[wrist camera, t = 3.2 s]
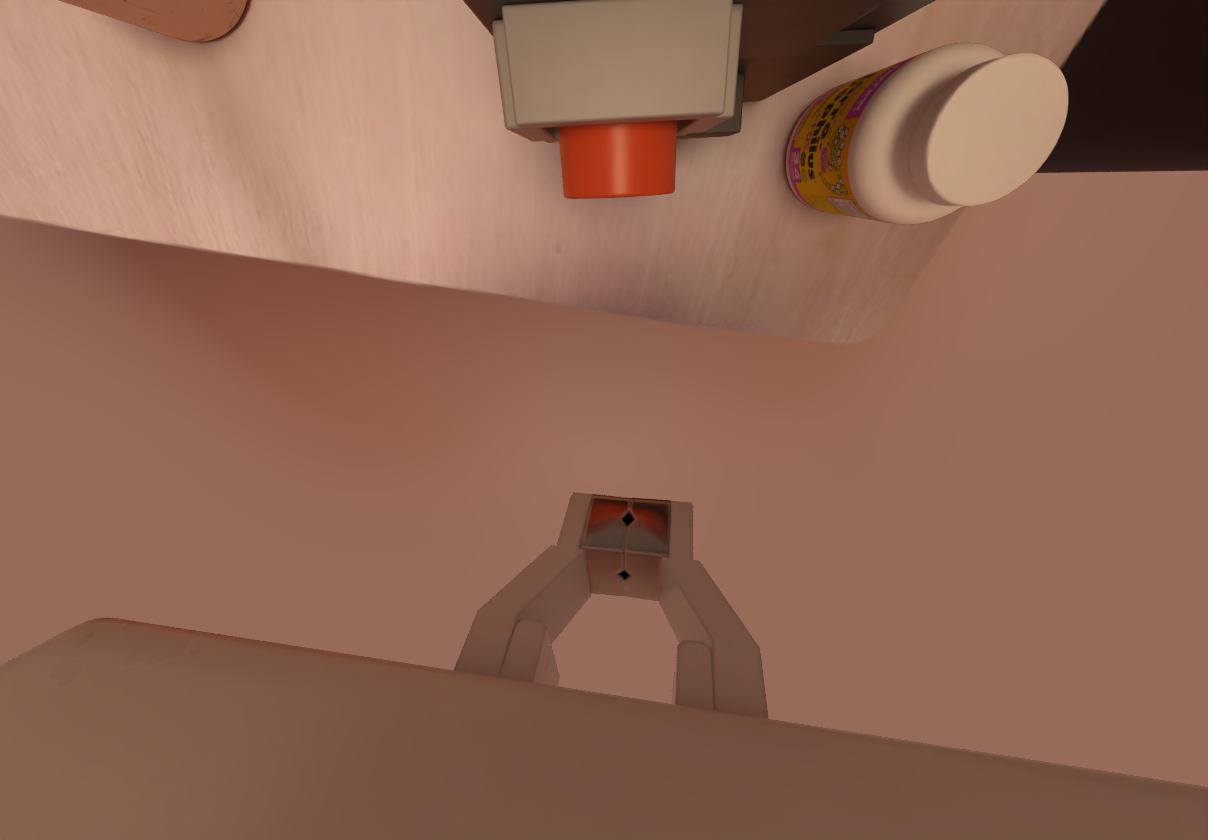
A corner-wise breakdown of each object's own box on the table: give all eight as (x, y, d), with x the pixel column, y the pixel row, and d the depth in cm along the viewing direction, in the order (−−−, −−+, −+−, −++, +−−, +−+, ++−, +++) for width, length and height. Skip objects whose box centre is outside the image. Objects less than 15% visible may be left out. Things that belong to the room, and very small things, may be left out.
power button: (669, 115, 13) (686, 98, 10) (667, 191, 14) (682, 194, 11) (562, 121, 13) (550, 106, 10) (568, 196, 14) (558, 200, 11)
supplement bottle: (823, 62, 25) (1001, -34, 14) (917, 115, 26) (1152, 66, 15) (760, 186, 28) (862, 191, 17) (847, 228, 29) (997, 259, 18)
